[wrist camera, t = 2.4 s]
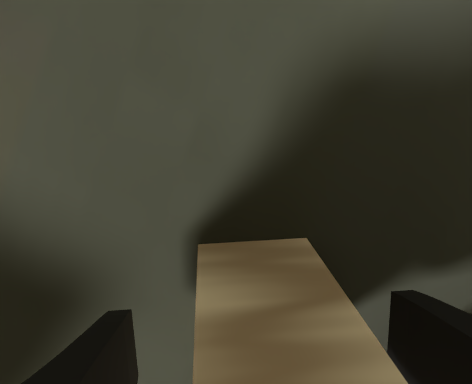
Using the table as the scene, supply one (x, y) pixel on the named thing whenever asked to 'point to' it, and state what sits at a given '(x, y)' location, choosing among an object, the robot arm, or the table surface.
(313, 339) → the beige wooden block
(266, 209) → the table surface
